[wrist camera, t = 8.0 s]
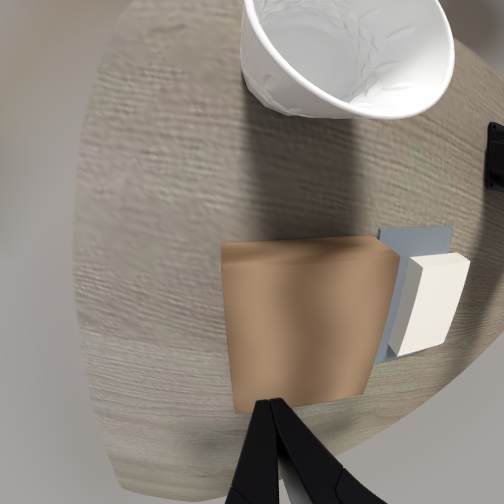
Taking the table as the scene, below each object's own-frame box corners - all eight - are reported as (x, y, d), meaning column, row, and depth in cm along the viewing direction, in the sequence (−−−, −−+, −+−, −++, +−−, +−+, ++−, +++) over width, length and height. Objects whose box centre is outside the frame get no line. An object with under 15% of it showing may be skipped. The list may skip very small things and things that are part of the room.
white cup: (242, 6, 13) (264, -88, 4) (357, 35, 14) (451, -13, 5) (221, 114, 16) (222, 84, 7) (342, 137, 17) (446, 149, 8)
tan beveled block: (372, 235, 20) (400, 256, 16) (348, 364, 25) (362, 393, 21) (221, 243, 19) (221, 269, 15) (232, 379, 24) (235, 413, 20)
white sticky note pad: (423, 267, 19) (409, 257, 21) (397, 356, 22) (388, 343, 24) (470, 261, 20) (456, 252, 21) (443, 343, 23) (433, 331, 25)
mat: (451, 226, 21) (453, 227, 20) (415, 351, 26) (417, 352, 26) (378, 228, 20) (380, 229, 20) (351, 366, 25) (352, 368, 25)
